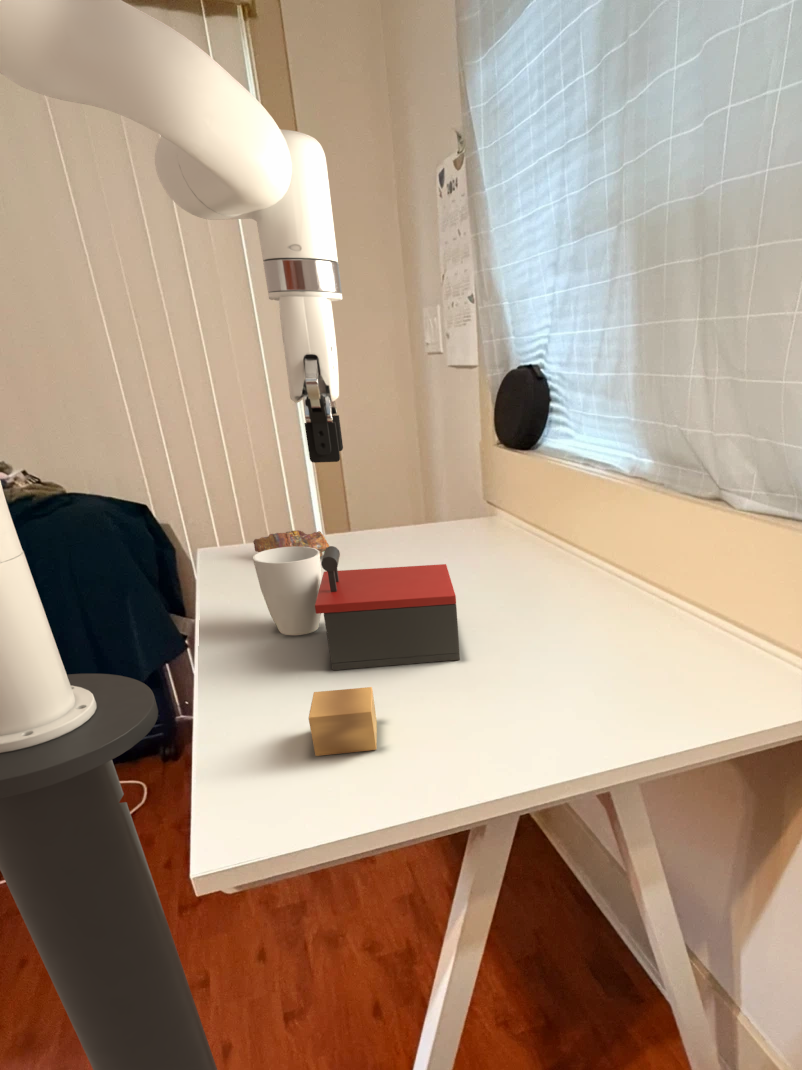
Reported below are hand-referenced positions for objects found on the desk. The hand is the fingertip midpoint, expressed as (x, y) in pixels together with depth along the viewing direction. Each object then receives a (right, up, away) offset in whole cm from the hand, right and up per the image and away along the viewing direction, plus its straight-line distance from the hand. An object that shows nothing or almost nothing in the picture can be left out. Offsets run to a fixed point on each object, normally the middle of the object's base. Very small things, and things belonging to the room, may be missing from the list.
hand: (327, 456), depth 82 cm
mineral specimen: (-19, -2, +43) cm, 47 cm away
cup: (-7, -19, +12) cm, 24 cm away
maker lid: (+6, -15, +4) cm, 17 cm away
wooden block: (+6, -33, -15) cm, 36 cm away
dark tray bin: (+7, -21, +7) cm, 23 cm away
